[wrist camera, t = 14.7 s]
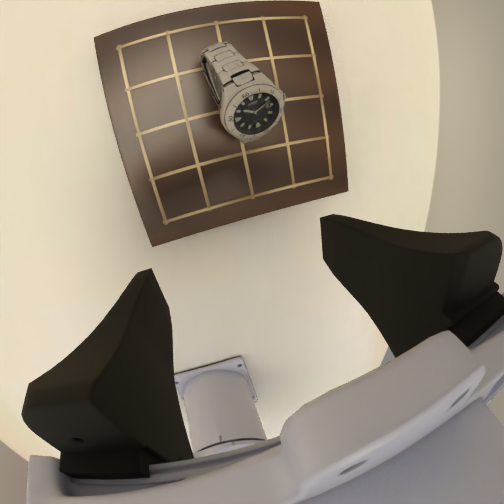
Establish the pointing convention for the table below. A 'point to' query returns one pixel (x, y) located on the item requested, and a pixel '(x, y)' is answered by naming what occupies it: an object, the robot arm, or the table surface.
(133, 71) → the board
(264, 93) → the wristwatch
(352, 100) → the table surface
